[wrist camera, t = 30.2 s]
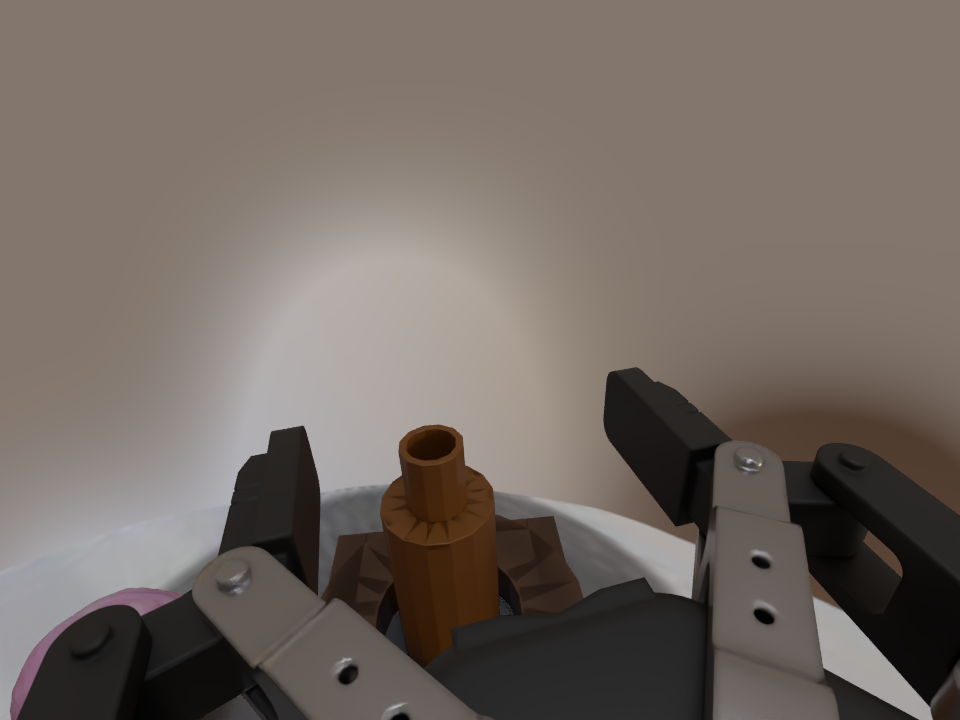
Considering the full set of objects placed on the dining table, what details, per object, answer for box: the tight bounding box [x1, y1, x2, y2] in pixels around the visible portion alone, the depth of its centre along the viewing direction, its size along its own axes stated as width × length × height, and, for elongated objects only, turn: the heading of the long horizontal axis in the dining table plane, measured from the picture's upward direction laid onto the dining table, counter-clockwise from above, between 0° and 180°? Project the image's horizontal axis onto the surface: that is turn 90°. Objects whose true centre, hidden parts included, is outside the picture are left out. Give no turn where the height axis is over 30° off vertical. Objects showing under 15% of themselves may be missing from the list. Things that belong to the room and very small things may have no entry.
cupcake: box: [10, 588, 198, 720], centre depth 29 cm, size 9×9×10 cm
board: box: [321, 515, 583, 635], centre depth 35 cm, size 18×18×3 cm
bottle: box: [380, 425, 500, 668], centre depth 31 cm, size 6×6×17 cm
